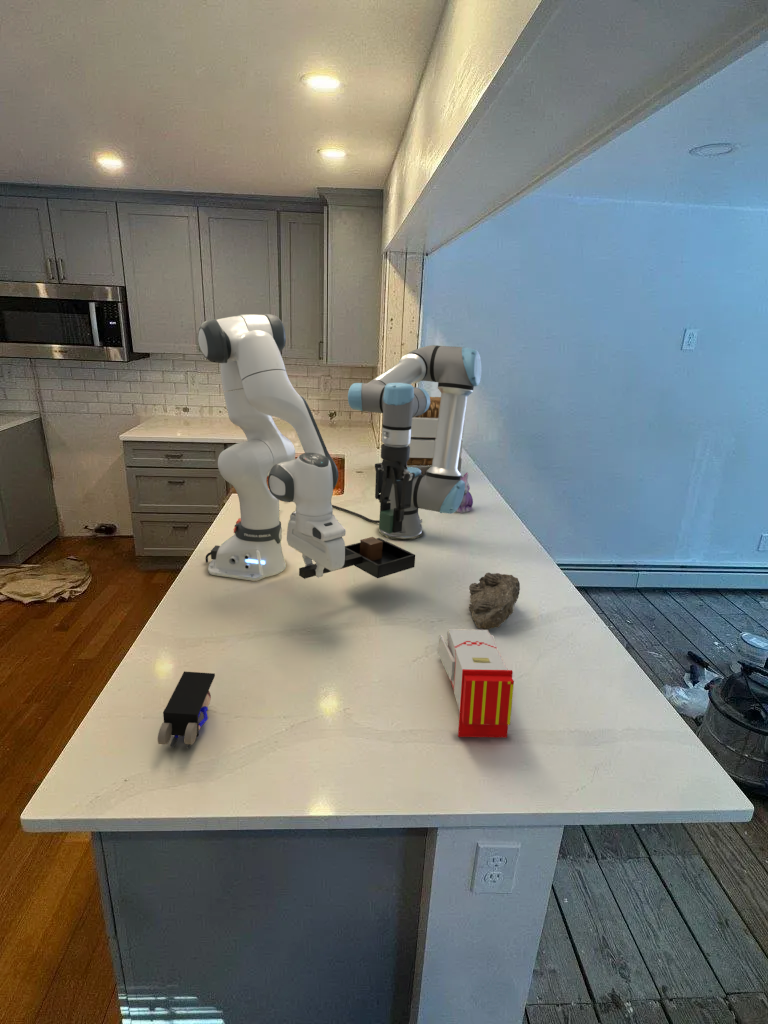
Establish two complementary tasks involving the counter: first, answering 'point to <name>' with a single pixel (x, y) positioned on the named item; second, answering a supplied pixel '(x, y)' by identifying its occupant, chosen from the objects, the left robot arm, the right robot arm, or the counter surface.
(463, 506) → the figurine
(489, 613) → the fossil
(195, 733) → the figurine character
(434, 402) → the transformer
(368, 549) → the walnut block
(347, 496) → the counter surface
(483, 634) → the toy
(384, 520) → the green block
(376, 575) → the pan
